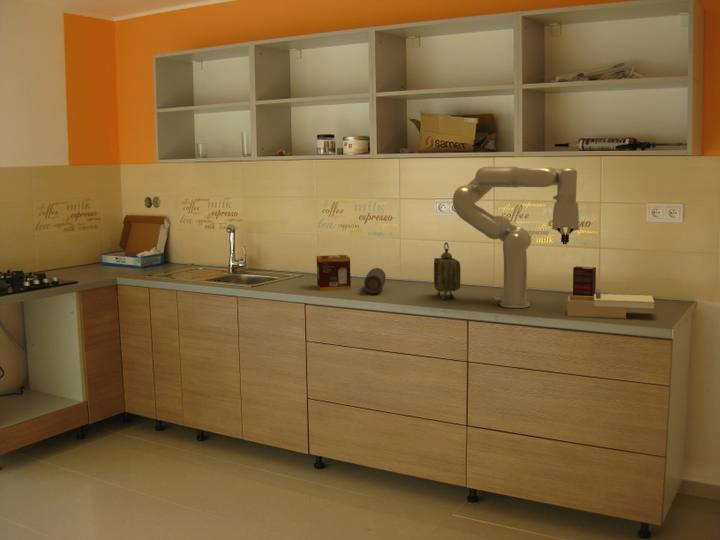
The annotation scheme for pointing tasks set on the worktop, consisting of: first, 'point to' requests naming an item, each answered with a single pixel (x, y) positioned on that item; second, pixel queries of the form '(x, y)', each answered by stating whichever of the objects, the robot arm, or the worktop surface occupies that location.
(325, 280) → the supplement box
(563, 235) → the robot arm
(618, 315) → the mailer base
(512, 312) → the worktop surface
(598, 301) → the mailer lid
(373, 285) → the bluetooth speaker
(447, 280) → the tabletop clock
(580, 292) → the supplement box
